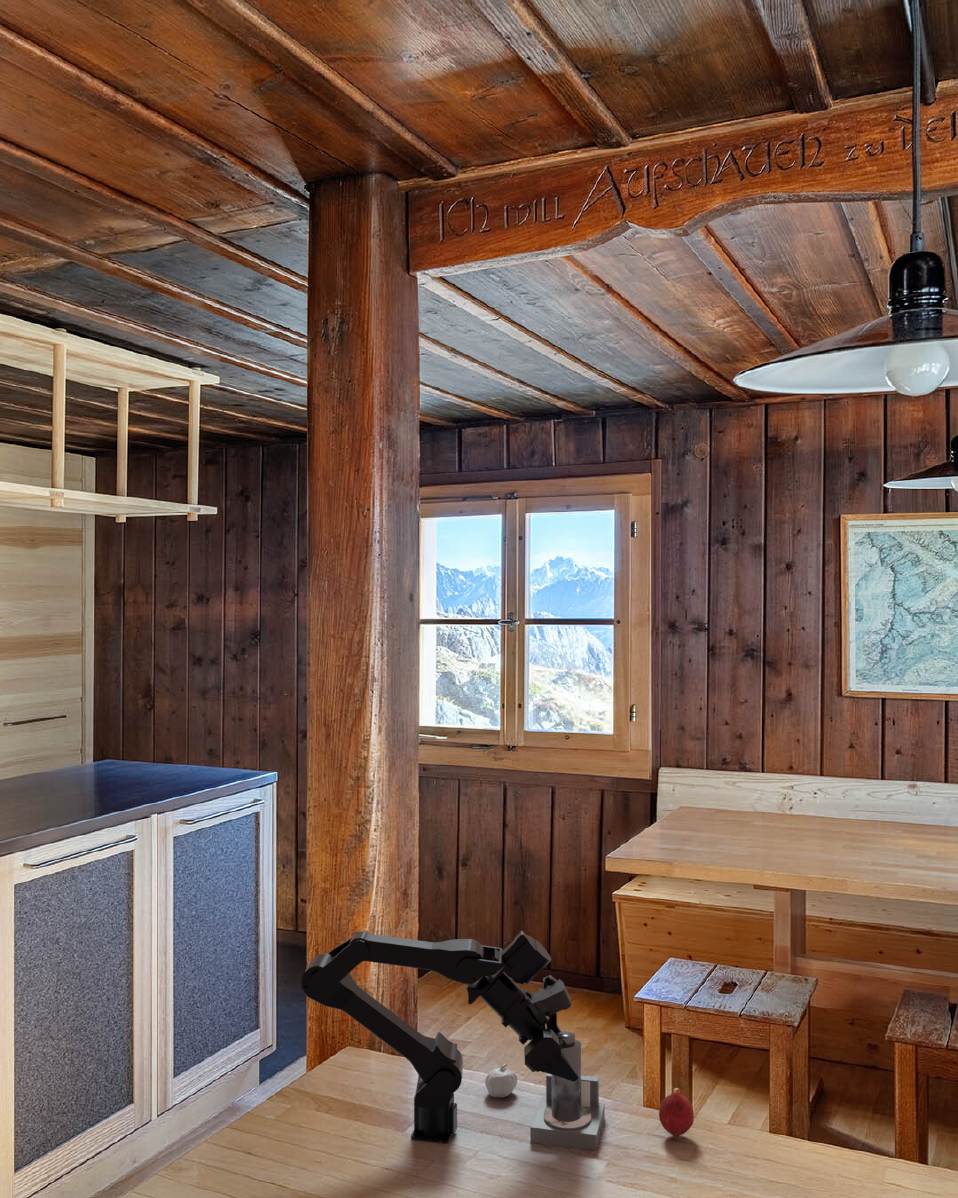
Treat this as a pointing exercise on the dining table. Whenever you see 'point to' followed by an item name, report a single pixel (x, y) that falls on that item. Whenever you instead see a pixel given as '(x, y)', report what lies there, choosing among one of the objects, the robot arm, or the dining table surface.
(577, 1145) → the scale
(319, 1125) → the dining table surface
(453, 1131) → the robot arm
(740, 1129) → the dining table surface
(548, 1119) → the scale pan
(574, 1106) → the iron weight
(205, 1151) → the dining table surface
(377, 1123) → the dining table surface
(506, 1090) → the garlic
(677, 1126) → the onion
